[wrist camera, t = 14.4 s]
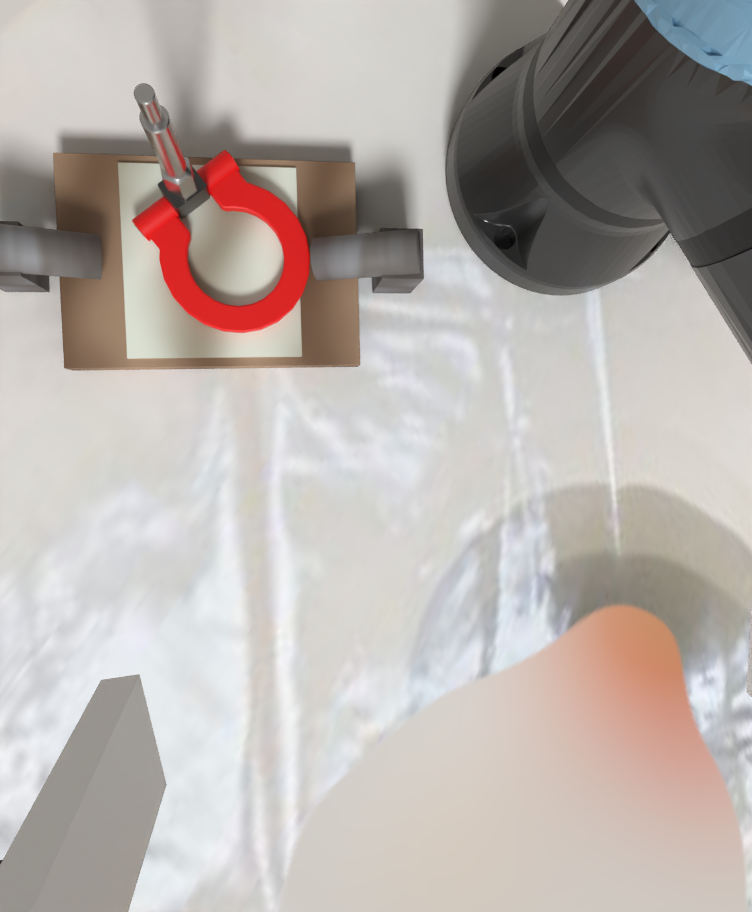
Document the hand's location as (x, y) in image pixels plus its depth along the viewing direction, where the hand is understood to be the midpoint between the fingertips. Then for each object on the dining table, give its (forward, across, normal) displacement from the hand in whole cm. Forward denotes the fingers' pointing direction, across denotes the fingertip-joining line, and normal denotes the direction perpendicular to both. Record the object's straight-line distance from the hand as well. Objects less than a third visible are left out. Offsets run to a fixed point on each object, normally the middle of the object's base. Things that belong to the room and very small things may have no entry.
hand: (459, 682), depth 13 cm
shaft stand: (+29, -8, +10) cm, 32 cm away
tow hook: (+28, -6, +11) cm, 30 cm away
